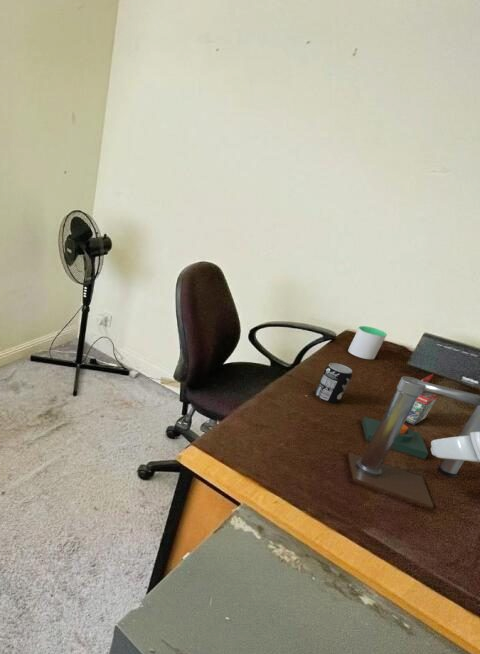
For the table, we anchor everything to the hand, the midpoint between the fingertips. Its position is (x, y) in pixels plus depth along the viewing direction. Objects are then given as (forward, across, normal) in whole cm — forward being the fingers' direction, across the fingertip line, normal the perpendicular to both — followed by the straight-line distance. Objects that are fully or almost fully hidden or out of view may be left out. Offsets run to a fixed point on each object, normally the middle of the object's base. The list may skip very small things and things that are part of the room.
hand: (457, 453), depth 93 cm
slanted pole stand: (+12, +7, +7) cm, 16 cm away
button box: (+24, -8, -5) cm, 26 cm away
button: (+22, -8, -8) cm, 24 cm away
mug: (+62, -39, -43) cm, 85 cm away
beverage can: (+38, -2, -18) cm, 42 cm away
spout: (+6, +5, +2) cm, 8 cm away
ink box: (+32, -22, -13) cm, 41 cm away
